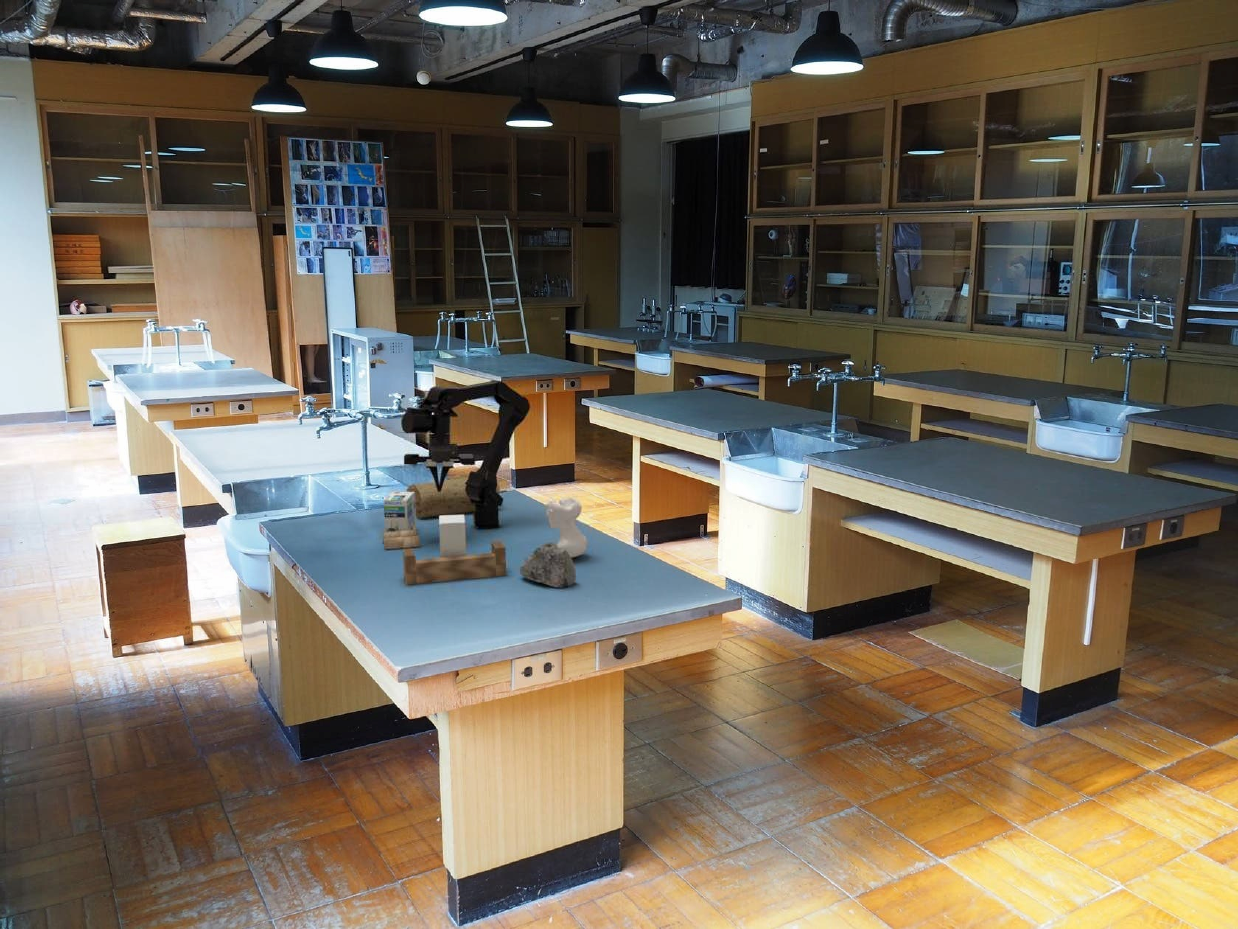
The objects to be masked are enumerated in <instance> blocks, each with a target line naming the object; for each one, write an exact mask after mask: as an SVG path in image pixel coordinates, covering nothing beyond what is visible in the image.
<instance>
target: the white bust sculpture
mask: <svg viewBox="0 0 1238 929" xmlns="http://www.w3.org/2000/svg"><path fill="white" fill-rule="evenodd" d="M545 508H546V512H545V514H546V517H547V519H548V521H547V522H548V525H549V527H551V528H553V529H557V530H558V532H559V535H560V537H559V539H558V541H557V543H556V545H557V546H558V547H559V548H563V549H565V550H566V551H567V552H568V554H569V555H570V557H571V558H575V557H579V556H581V555H583V554H584V553H585V552H586V548H587V544H588V538H587V537H586V536H585V535H584V534H583V533H582V532H581V531H580V529H579V528H578V527H577V525H576V523H575V522H576V520H577V519H578V518H579V517H580V515H581V512H582V504H581V502H580V501H579V500H577V498H574V497H563V498H561V499H559V500H558V503H557V500H556V499H550V500H549V502H547V503H546V504H545Z"/></svg>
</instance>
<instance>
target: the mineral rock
mask: <svg viewBox="0 0 1238 929" xmlns="http://www.w3.org/2000/svg"><path fill="white" fill-rule="evenodd" d="M572 558H573V557H572ZM572 558H571V557H570V555H569V554H568V552H567V551H566V550H565V549H563V548H559V547H558V546H557V543H555V542H552V541H551V542H550V541H549V542H547V543H544V544H543V545H541V546H540V547H537V548H535V549H534V550H533V552H532V555H530V556H527V557H525V559H524V563H523V564H522V565H521V566H520V567H519V573H520V574H521V575H522V577H524V578H526V579H528V580H529V581H533V582H536V583H541V584H544V585H548V586H550V587H553V588H560V589H563V588H565V587H568V586H572V585H573V584H574V583H575V582H576V579H577V575H576V574H577V570H576V567H575V565H574V561H573V559H572Z"/></svg>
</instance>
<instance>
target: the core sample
mask: <svg viewBox="0 0 1238 929" xmlns="http://www.w3.org/2000/svg"><path fill="white" fill-rule="evenodd" d="M467 480H468V477H463V478H456V479H455V478H454V479H448V480H446V479H445V480H444V483H443V486H442V489H441V492H438V491H437V488H436V484H435V481H430V482H429V481H428V482H420V483H413V484H410V485H409V487H408V488H406V492H415V501H416V519H417V518H418V519H427V518H434V517H439V516H443V515H460V514H465V513H471V512H472V513H473V510H474V509H475V504H472V503H471V501H470V499H469V497H468V496H467V494H466V492H465V488H466V484H465V483H466V481H467ZM439 482H440V480H439ZM500 490H501V488H500V483H499V481H498V480H497V488H496V492H497V493H498V494H499V495H500Z"/></svg>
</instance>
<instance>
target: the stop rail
mask: <svg viewBox="0 0 1238 929" xmlns="http://www.w3.org/2000/svg"><path fill="white" fill-rule="evenodd" d="M490 546H491V548H490V549H491V552H488V553H479V554H478V553H477V554H466V555H464V556H453V557H442V558H440V557H433V558H421V559H416V553H415V550H414V547H411V548H402V559H403V560H402V561H403V577H404V578H403V579H404V581H405V584H406V586H409V585H419V584H420V585H421V584H429V583H440V582H450V581H461V580H471V579H472V580H473V579H480V578H482V579H483V578H490V577H491V578H492V577H502V576H507V558H506V557H507V556H506V555H507V553H506V550H507V549H506V546H505V544H504V543H503V542H502V540H496V541H495V540H494V541H491V544H490Z"/></svg>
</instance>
